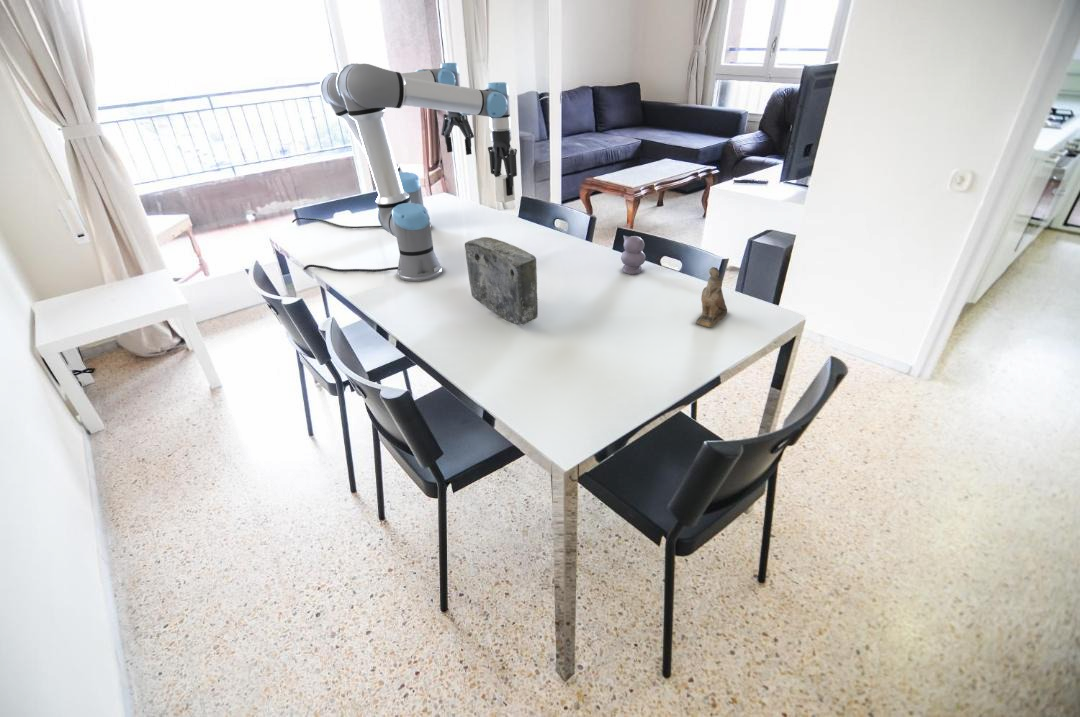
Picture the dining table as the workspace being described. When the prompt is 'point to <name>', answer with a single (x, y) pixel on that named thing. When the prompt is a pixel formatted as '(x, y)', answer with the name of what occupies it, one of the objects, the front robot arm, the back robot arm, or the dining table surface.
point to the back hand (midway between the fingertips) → (459, 153)
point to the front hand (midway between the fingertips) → (505, 194)
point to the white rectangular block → (502, 189)
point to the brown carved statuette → (712, 301)
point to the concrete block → (503, 279)
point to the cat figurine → (633, 254)
